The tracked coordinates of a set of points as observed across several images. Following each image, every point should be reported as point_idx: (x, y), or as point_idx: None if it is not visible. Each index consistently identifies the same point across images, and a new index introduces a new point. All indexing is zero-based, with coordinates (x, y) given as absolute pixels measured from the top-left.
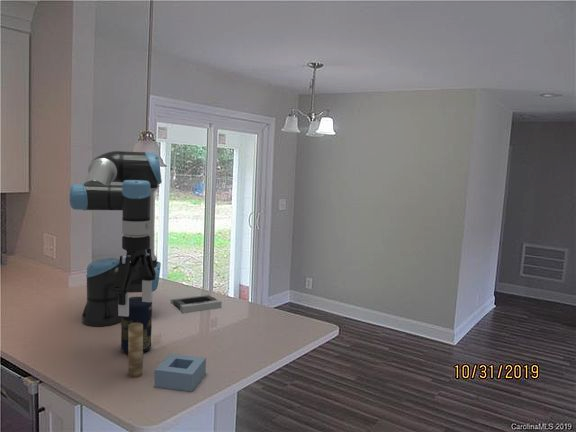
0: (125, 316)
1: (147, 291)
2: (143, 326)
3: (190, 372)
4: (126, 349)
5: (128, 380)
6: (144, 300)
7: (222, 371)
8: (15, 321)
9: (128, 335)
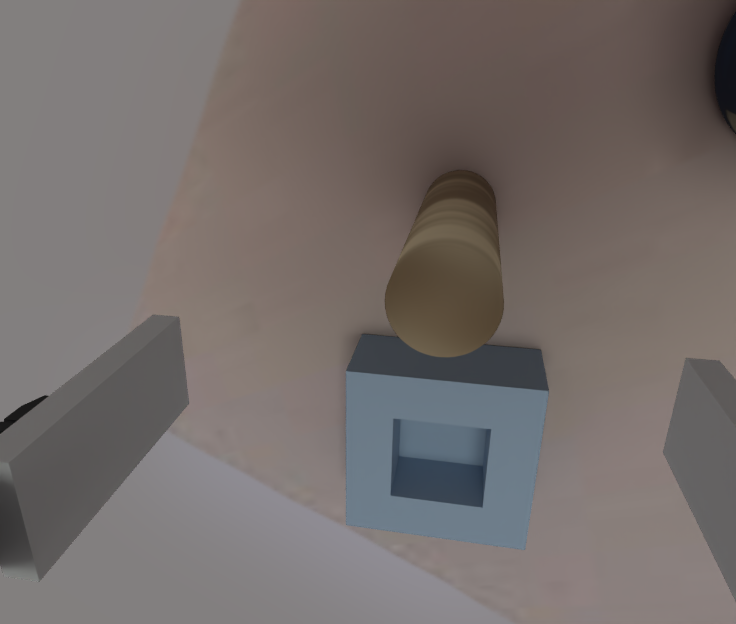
0: None
1: (719, 508)
2: None
3: (361, 515)
4: (728, 29)
5: (393, 199)
6: (686, 395)
7: (553, 550)
8: None
9: (416, 235)
